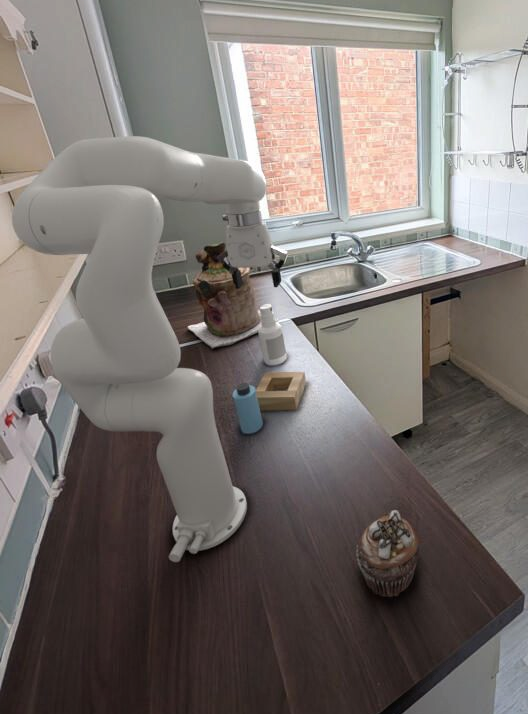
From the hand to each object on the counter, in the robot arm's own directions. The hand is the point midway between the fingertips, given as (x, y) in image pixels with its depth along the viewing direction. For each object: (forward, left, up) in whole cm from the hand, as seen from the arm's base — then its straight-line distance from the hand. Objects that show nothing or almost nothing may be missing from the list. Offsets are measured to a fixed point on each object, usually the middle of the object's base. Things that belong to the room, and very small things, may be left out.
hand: (258, 286), depth 101 cm
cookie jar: (+33, +26, -29) cm, 51 cm away
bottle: (-18, +1, -29) cm, 34 cm away
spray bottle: (+11, +4, -29) cm, 32 cm away
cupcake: (-51, -33, -29) cm, 67 cm away
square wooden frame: (-7, -3, -29) cm, 30 cm away
